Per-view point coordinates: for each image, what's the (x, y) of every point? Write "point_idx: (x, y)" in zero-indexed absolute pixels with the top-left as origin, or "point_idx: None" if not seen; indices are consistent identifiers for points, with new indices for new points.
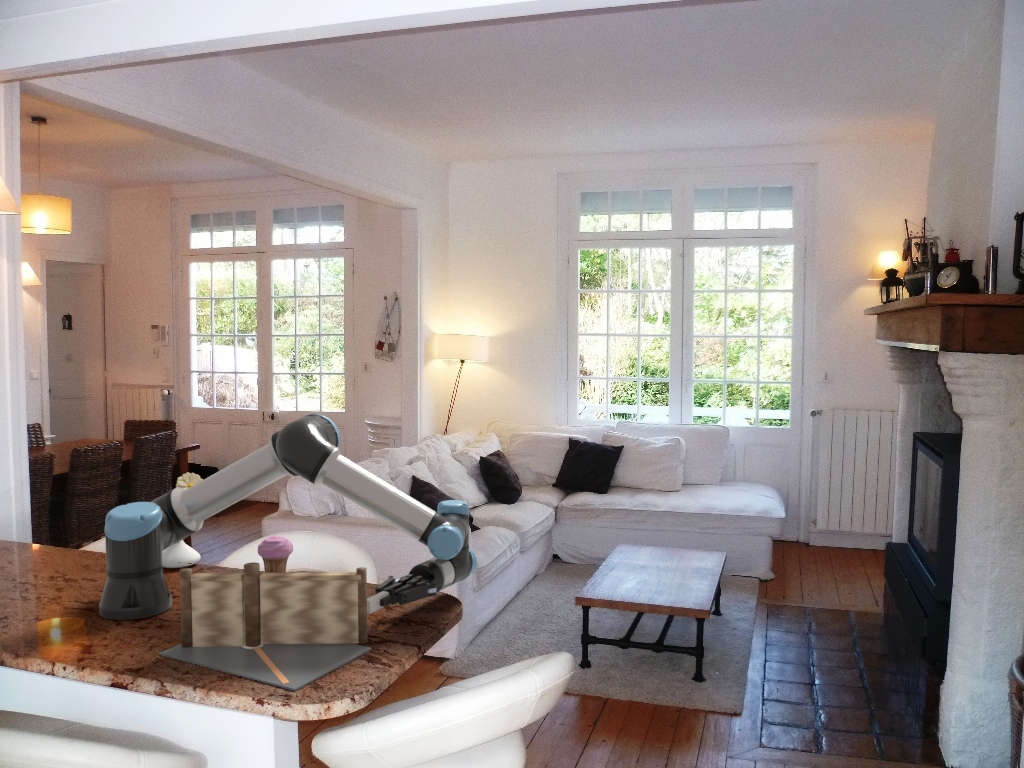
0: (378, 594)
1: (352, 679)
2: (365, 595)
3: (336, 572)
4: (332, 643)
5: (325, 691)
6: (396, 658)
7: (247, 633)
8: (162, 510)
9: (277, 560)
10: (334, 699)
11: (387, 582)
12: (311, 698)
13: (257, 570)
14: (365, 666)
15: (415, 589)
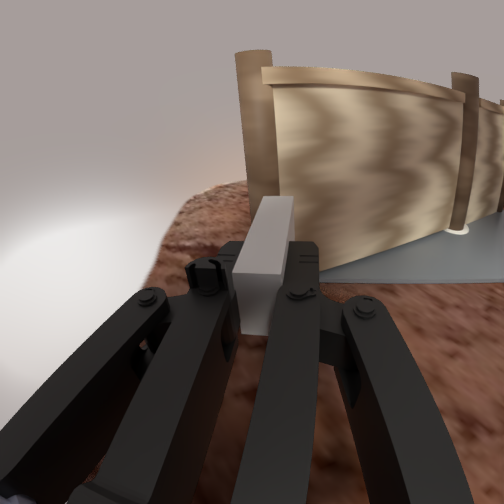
0: (272, 236)
1: (213, 212)
2: (244, 141)
3: (341, 69)
4: (342, 264)
5: (233, 193)
6: (161, 267)
7: None
8: None
9: None
10: (213, 189)
11: (416, 471)
12: (240, 185)
13: (453, 81)
14: (211, 235)
15: (60, 371)
